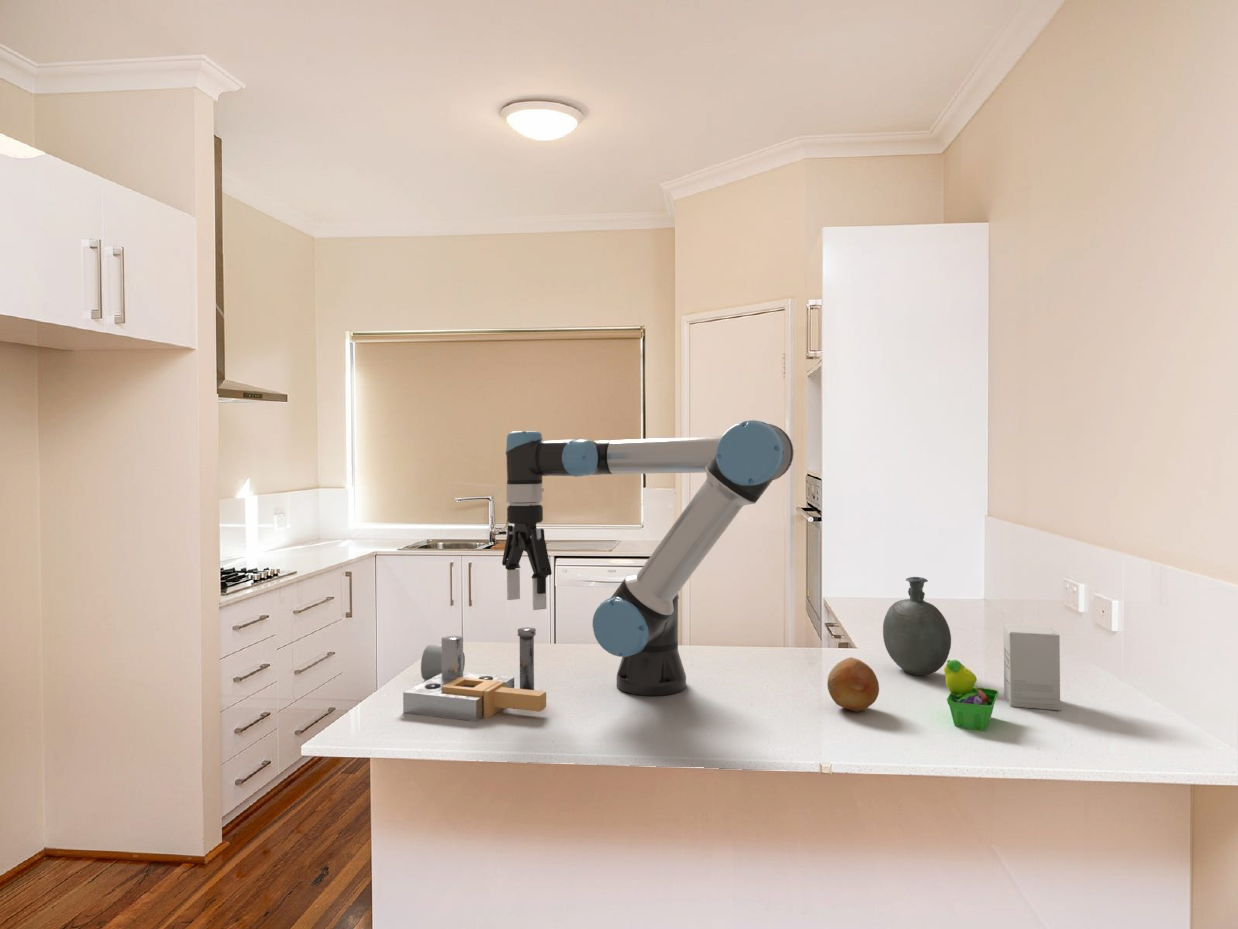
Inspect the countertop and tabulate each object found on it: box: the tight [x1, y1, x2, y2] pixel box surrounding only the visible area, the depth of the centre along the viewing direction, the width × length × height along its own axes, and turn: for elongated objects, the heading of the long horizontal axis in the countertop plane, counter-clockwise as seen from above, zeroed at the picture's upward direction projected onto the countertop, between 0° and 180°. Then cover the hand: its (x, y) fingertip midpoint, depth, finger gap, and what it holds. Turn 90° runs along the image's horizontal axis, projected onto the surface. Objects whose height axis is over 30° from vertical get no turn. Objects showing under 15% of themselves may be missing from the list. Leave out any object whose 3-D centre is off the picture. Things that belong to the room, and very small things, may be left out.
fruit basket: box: [943, 659, 999, 732], centre depth 145 cm, size 11×9×11 cm
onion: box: [827, 657, 880, 713], centre depth 152 cm, size 10×10×10 cm
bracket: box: [442, 677, 547, 718], centre depth 151 cm, size 20×7×5 cm, turn 71°
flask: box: [882, 576, 952, 676], centre depth 177 cm, size 12×17×22 cm
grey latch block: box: [402, 635, 515, 722], centre depth 156 cm, size 16×16×12 cm
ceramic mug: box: [420, 644, 466, 681], centre depth 174 cm, size 11×8×8 cm
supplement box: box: [1003, 623, 1061, 711], centre depth 156 cm, size 9×9×15 cm
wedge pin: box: [517, 627, 537, 690], centre depth 164 cm, size 4×4×13 cm
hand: (526, 604), depth 164 cm, fingers open, 13 cm apart
